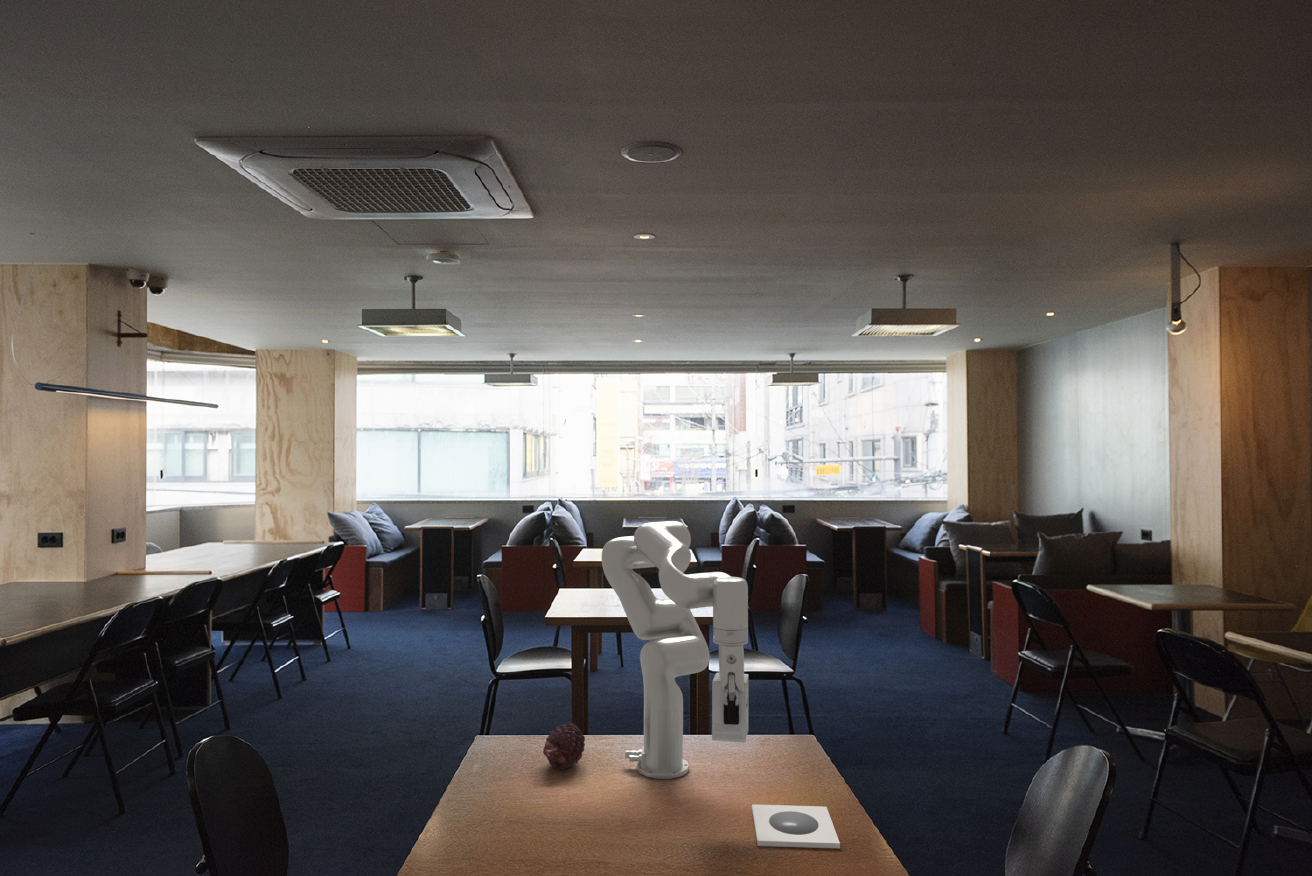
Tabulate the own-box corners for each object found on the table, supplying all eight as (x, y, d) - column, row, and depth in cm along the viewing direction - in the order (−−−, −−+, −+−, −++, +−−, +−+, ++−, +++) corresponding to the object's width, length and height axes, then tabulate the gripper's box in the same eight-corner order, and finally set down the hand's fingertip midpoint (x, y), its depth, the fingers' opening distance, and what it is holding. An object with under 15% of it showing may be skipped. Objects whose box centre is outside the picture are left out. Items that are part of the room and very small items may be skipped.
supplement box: (746, 743, 167) (746, 682, 167) (711, 740, 168) (711, 680, 169) (749, 731, 174) (749, 673, 174) (715, 729, 175) (715, 671, 176)
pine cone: (556, 750, 205) (556, 711, 205) (593, 753, 203) (594, 713, 203) (534, 778, 187) (535, 735, 187) (575, 781, 186) (576, 738, 186)
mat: (757, 846, 156) (757, 840, 156) (751, 809, 172) (751, 804, 172) (839, 848, 155) (839, 843, 155) (826, 811, 171) (826, 806, 171)
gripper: (750, 645, 163) (750, 731, 162) (745, 627, 180) (746, 705, 180) (713, 644, 163) (713, 731, 163) (712, 626, 181) (712, 704, 180)
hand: (730, 717), depth 171 cm, fingers closed on supplement box, 7 cm apart
